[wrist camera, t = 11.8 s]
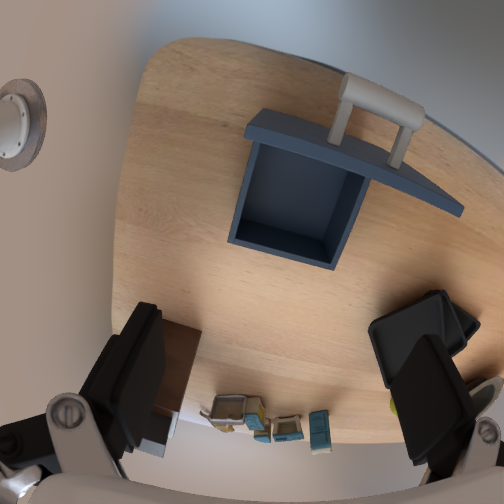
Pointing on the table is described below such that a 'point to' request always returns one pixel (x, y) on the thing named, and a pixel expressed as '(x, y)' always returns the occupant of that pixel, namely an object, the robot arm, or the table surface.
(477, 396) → the stone bowl
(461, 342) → the tray
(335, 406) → the table surface
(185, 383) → the stand
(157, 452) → the dark grey rectangular block
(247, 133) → the box lid
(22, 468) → the robot arm
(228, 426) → the decorative sculpture
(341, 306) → the table surface
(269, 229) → the storage box
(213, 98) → the table surface
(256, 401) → the toy kitchen set
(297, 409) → the table surface
